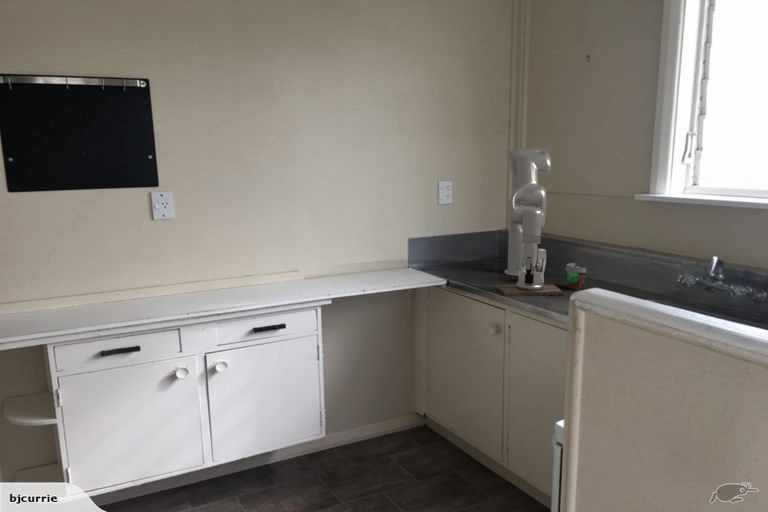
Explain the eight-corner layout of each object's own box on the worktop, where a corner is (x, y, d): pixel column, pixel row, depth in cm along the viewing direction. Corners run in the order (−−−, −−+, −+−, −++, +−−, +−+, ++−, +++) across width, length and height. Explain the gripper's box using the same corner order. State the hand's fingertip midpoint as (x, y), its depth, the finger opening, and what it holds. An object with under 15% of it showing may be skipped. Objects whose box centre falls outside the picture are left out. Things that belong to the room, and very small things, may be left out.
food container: (560, 285, 268) (561, 263, 266) (573, 285, 268) (574, 262, 267) (570, 291, 256) (572, 268, 254) (585, 291, 256) (586, 268, 255)
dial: (512, 288, 253) (513, 272, 252) (520, 283, 263) (521, 268, 262) (539, 291, 248) (540, 275, 247) (546, 286, 257) (547, 271, 256)
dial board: (497, 287, 263) (497, 284, 262) (553, 287, 263) (553, 284, 263) (504, 295, 248) (504, 291, 248) (563, 295, 248) (563, 291, 248)
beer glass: (545, 284, 270) (547, 251, 267) (529, 283, 271) (530, 250, 269) (544, 281, 277) (546, 248, 274) (528, 280, 278) (530, 248, 275)
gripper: (524, 236, 261) (522, 278, 264) (519, 241, 246) (517, 286, 249) (542, 237, 258) (540, 279, 261) (538, 242, 243) (536, 287, 246)
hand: (529, 282), depth 255 cm, fingers closed on dial, 3 cm apart
